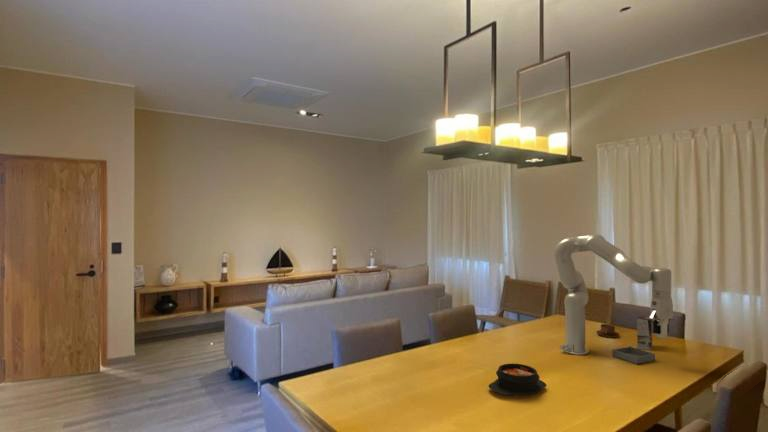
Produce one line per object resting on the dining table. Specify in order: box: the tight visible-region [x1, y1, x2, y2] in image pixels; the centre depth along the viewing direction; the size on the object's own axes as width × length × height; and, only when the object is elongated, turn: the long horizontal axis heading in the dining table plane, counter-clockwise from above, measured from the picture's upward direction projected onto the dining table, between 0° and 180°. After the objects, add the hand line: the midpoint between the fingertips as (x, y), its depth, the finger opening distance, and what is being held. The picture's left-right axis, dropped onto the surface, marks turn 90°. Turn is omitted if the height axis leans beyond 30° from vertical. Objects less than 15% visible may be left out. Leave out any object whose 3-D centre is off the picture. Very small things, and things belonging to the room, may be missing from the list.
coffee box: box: [636, 315, 653, 351], centre depth 227 cm, size 9×6×16 cm
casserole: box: [488, 363, 547, 397], centre depth 171 cm, size 25×19×8 cm
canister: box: [654, 317, 668, 339], centre depth 198 cm, size 5×5×9 cm
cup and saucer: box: [596, 323, 620, 338], centre depth 250 cm, size 12×12×6 cm
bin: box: [611, 346, 656, 366], centre depth 208 cm, size 13×13×4 cm
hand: (660, 332), depth 198 cm, fingers closed on canister, 5 cm apart
